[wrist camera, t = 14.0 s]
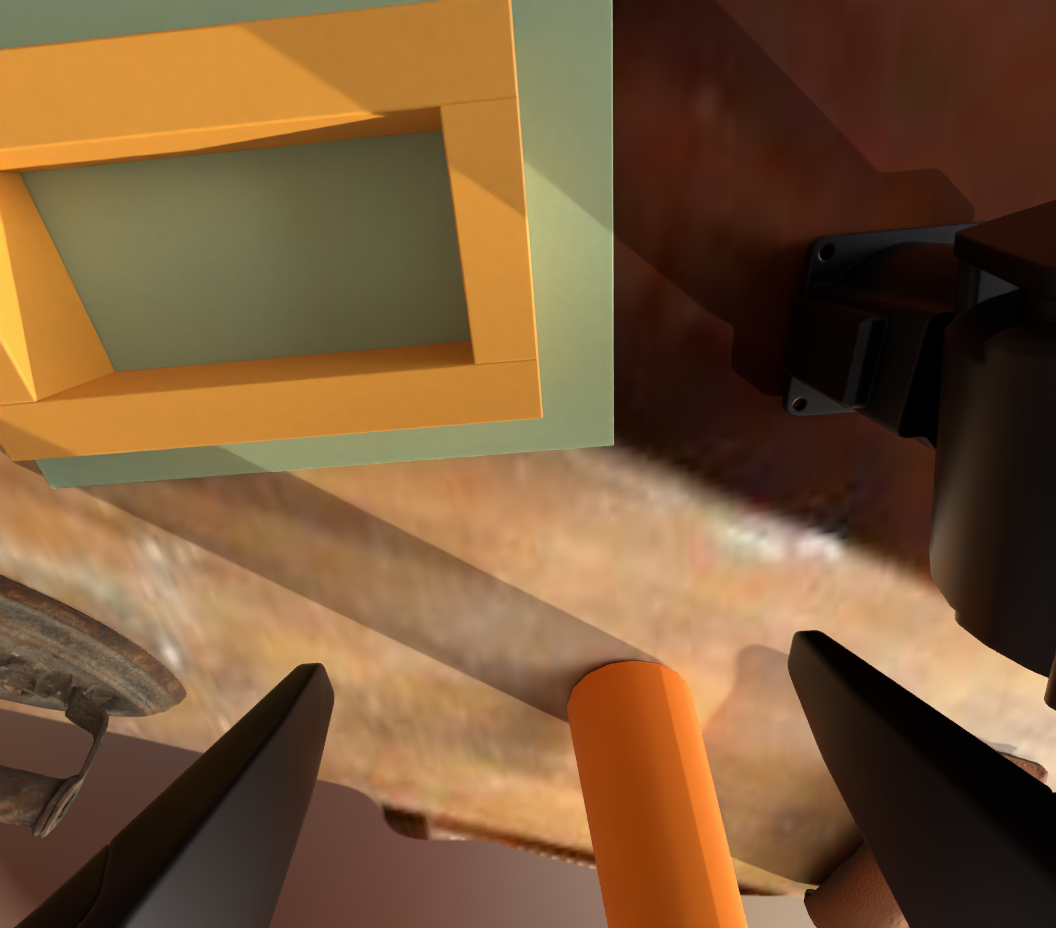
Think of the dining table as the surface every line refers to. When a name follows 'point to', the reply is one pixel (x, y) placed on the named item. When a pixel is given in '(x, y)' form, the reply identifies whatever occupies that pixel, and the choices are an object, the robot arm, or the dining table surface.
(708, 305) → the dining table surface
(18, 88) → the rectangular frame
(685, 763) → the spray bottle
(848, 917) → the sunglasses case
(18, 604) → the clothes iron
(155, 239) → the mat
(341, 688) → the dining table surface
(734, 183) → the dining table surface
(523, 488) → the dining table surface
